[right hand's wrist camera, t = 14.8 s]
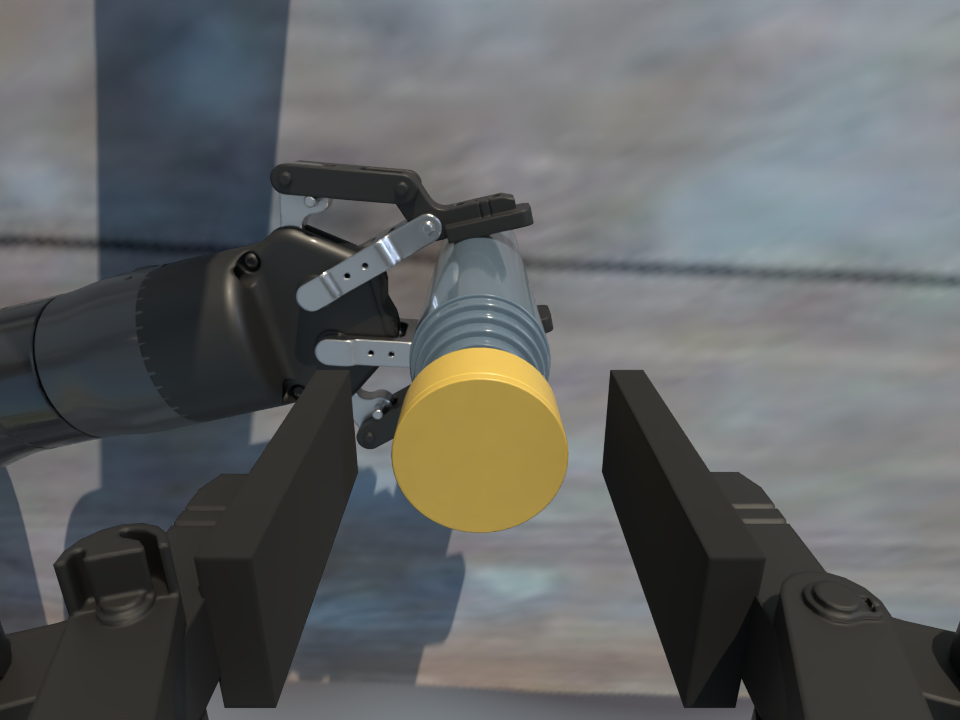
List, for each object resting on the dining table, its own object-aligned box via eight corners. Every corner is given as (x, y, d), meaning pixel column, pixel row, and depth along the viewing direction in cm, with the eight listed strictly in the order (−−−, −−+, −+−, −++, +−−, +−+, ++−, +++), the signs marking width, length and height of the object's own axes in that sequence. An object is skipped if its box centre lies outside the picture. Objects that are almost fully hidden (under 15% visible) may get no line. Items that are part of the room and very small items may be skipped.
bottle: (469, 196, 33) (451, 321, 12) (532, 240, 34) (614, 424, 13) (427, 261, 34) (348, 471, 14) (489, 301, 35) (504, 556, 14)
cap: (401, 483, 15) (391, 529, 14) (402, 342, 14) (390, 374, 12) (550, 490, 15) (559, 537, 14) (565, 350, 14) (577, 382, 12)
